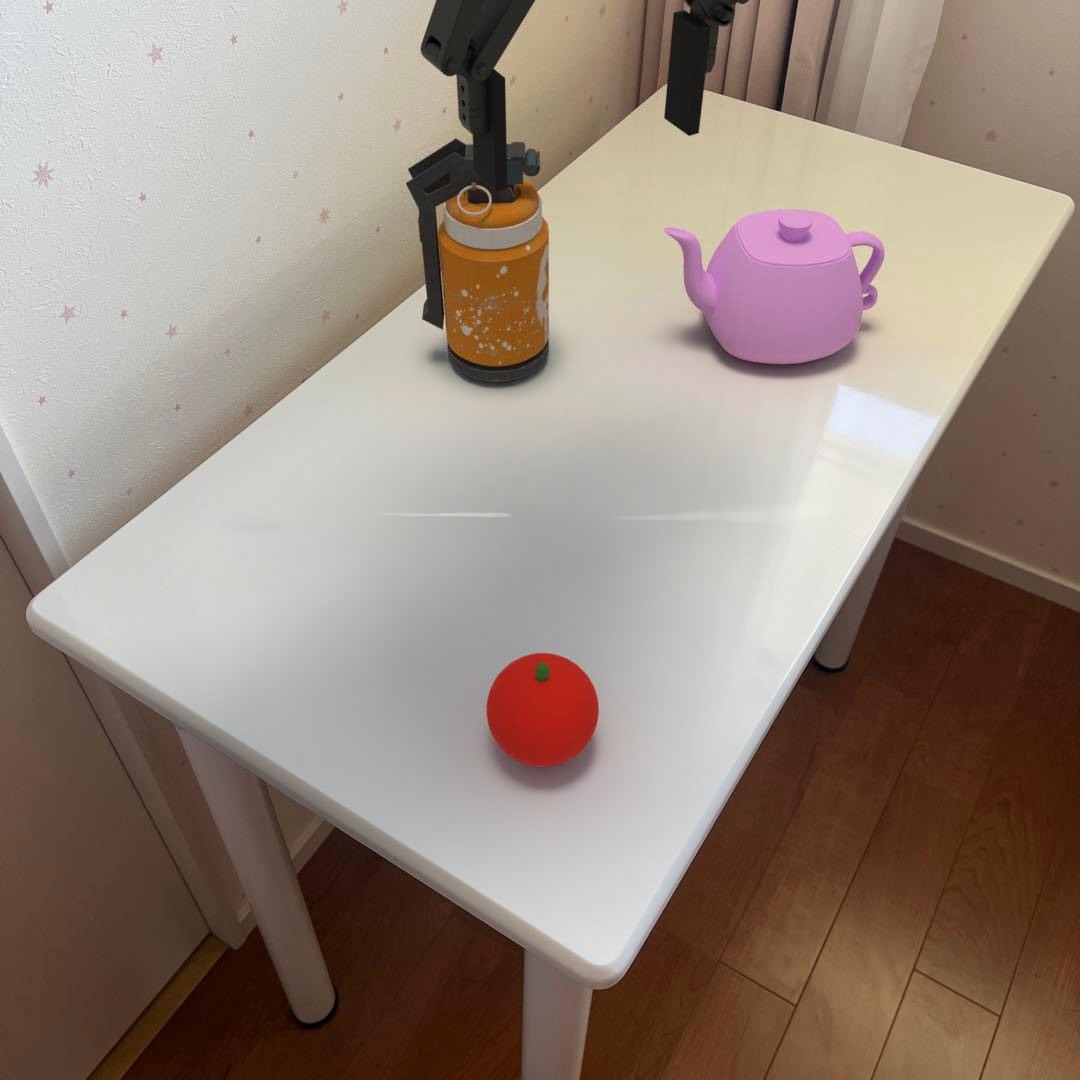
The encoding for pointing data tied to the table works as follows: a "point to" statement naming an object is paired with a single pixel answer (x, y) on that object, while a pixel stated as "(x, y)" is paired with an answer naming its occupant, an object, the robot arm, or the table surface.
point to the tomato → (542, 709)
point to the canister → (485, 261)
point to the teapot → (782, 285)
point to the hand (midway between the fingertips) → (589, 152)
